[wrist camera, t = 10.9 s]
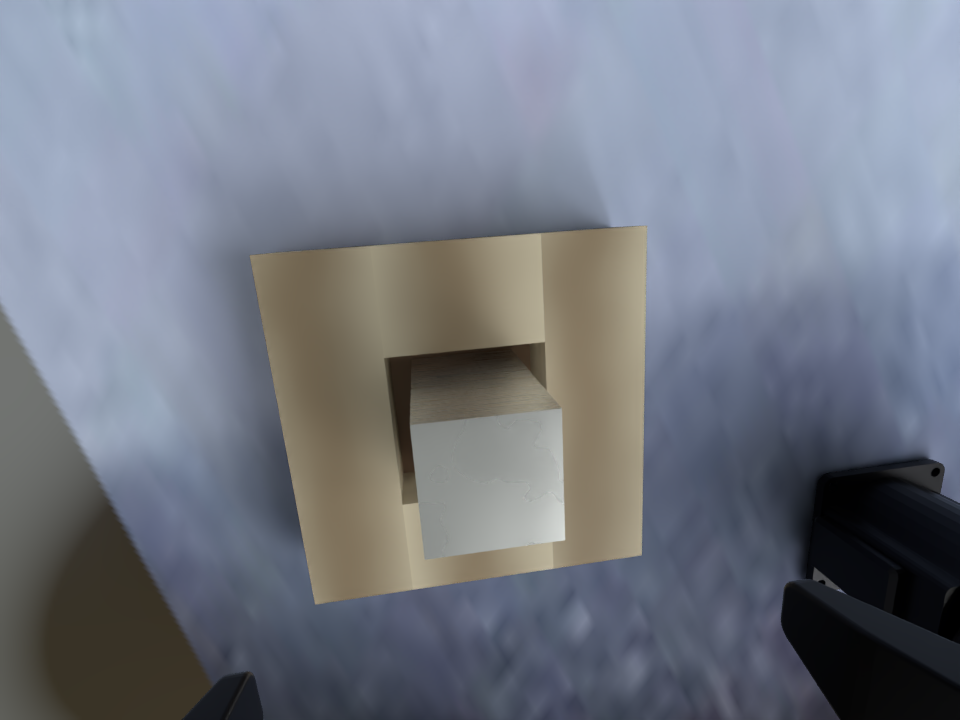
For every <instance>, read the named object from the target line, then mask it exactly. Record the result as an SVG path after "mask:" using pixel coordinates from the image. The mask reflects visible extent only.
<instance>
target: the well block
mask: <svg viewBox="0 0 960 720" xmlns="http://www.w3.org/2000/svg"><path fill="white" fill-rule="evenodd" d="M646 256H647V226H631V227H611V228H598V229H585V230H571V231H558V232H544V233H531V234H517V235H504V236H490V237H477V238H464V239H450V240H437V241H423V242H410V243H396V244H383V245H369V246H356V247H343V248H329V249H316V250H302V251H289V252H276V253H266V254H257V255H250V260H251V266H252V271H253V276H254V282H255V287H256V292H257V298H258V303H259V308H260V314H261V319H262V324H263V330H264V335H265V340H266V346H267V351H268V356H269V361H270V367H271V372H272V377H273V383H274V388H275V393H276V399H277V404H278V409H279V415H280V420H281V425H282V431H283V436H284V441H285V447H286V452H287V457H288V463H289V468H290V473H291V479H292V484H293V489H294V495H295V500H296V505H297V511H298V516H299V521H300V527H301V532H302V537H303V542H304V548H305V553H306V558H307V564H308V569H309V574H310V580H311V585H312V590H313V596H314V601H315V604H322V603H328V602H335V601H342V600H348V599H355V598H361V597H368V596H375V595H381V594H388V593H395V592H401V591H408V590H414V589H421V588H428V587H434V586H441V585H448V584H454V583H461V582H467V581H474V580H481V579H487V578H494V577H501V576H507V575H514V574H520V573H527V572H534V571H540V570H547V569H554V568H560V567H567V566H573V565H580V564H587V563H593V562H600V561H607V560H613V559H620V558H626V557H633V556H640V555H642V504H643V442H644V380H645V318H646ZM501 350H512V351H513V352H514V353H515V354H516V356H517V357H518V358H519V359H520V360H521V361H522V363H523V364H524V365H525V366H526V367H527V368H528V370H529V371H530V372H531V373H532V374H533V375H534V377H535V378H536V379H537V380H538V381H539V382H540V384H541V385H542V386H543V387H544V388H545V389H546V391H547V392H548V393H549V394H550V395H551V396H552V398H553V399H554V400H555V401H556V402H557V403H558V404H559V406H560V407H561V408H562V434H563V474H564V515H565V540H563V541H556V542H549V543H542V544H535V545H528V546H520V547H513V548H506V549H499V550H492V551H485V552H478V553H471V554H463V555H456V556H449V557H442V558H435V559H428V560H425V559H424V550H423V541H422V531H421V522H420V513H419V504H418V495H417V486H416V477H415V468H414V459H413V450H412V441H411V432H410V400H411V365H412V359H417V358H428V357H438V356H449V355H459V354H470V353H480V352H491V351H501Z"/></svg>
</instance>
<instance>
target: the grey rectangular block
mask: <svg viewBox="0 0 960 720" xmlns="http://www.w3.org/2000/svg"><path fill="white" fill-rule="evenodd" d="M410 432H411V441H412V450H413V459H414V468H415V477H416V486H417V495H418V504H419V513H420V522H421V531H422V541H423V550H424V559H425V560H428V559H435V558H442V557H449V556H456V555H463V554H471V553H478V552H485V551H492V550H499V549H506V548H513V547H520V546H528V545H535V544H542V543H549V542H556V541H563V540H565V515H564V474H563V434H562V408H561V407H560V406H559V404H558V403H557V402H556V401H555V400H554V399H553V398H552V396H551V395H550V394H549V393H548V392H547V391H546V389H545V388H544V387H543V386H542V385H541V384H540V382H539V381H538V380H537V379H536V378H535V377H534V375H533V374H532V373H531V372H530V371H529V370H528V368H527V367H526V366H525V365H524V364H523V363H522V361H521V360H520V359H519V358H518V357H517V356H516V354H515V353H514V352H513V351H512V350H501V351H491V352H480V353H470V354H459V355H449V356H438V357H428V358H417V359H412V365H411V400H410Z"/></svg>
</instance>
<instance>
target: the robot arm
mask: <svg viewBox="0 0 960 720" xmlns="http://www.w3.org/2000/svg"><path fill="white" fill-rule="evenodd" d="M944 471H945V468H944V466H943V464H941V463H939V462H937V461H934V460H930V459H928V460H921V461H914V462H906V463H899V464H892V465H885V466H877V467H870V468H863V469H856V470H848V471H841V472H834V473H827V474H824V475H823V476H821V477H820V479H819V480H818V483H817V489H816V498H815V506H814V515H813V523H812V532H811V540H810V549H809V557H808V566H807V574H806V579H803V580H797V581H791V582H788V583H787V584H786V585H785V587H784V593H783V603H782V612H781V625H782V628H783V631H784V633H785V635H786V637H787V639H788V640H789V642H790V643H791V645H792V646H793V648H794V650H795V651H796V653H797V654H798V656H799V657H800V659H801V660H802V662H803V663H804V665H805V666H806V668H807V670H808V671H809V673H810V674H811V676H812V677H813V679H814V680H815V682H816V683H817V685H818V687H819V688H820V690H821V691H822V693H823V694H824V696H825V697H826V699H827V700H828V702H829V704H830V705H831V707H832V708H833V710H834V711H835V713H836V714H837V716H838V717H839V719H840V720H960V503H958V502H956V501H954V500H952V499H950V498H948V497H946V496H944V495H942V494H940V492H941V487H942V482H943V476H944ZM837 589H841V590H842V591H844V592H845V593H846V594H847V595H846V594H844V593H842V592H840V591H837ZM182 720H263V710H262V706H261V701H260V697H259V693H258V689H257V685H256V680H255V677H254V675H253V674H252V673H251V672H248V671H247V672H241V673H235V674H229V675H225V676H224V677H222V678H221V679H220V680H219V681H218V682H217V683H216V684H215V685H214V686H213V687H212V688H211V689H210V690H209V691H208V692H207V693H206V694H205V696H204V697H203V698H202V699H201V700H200V701H199V702H198V703H197V704H196V705H195V706H194V707H193V708H192V709H191V710H190V711H189V713H188V714H187V715H186V716H185V717H184V718H183V719H182Z"/></svg>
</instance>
